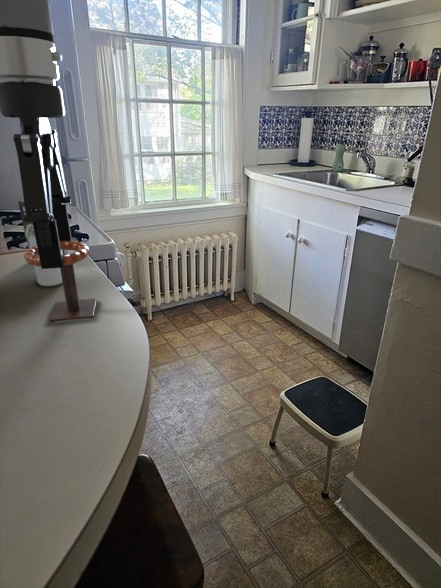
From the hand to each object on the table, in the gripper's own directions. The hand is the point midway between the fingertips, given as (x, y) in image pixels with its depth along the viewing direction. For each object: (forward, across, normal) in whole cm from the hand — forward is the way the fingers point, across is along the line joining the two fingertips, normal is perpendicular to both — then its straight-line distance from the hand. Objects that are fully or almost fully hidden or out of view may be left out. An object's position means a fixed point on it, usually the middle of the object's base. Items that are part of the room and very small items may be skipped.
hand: (58, 255), depth 58 cm
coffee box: (+18, +48, +12) cm, 53 cm away
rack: (+17, +15, +2) cm, 23 cm away
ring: (0, 0, 0) cm, 0 cm away
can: (+18, +33, +9) cm, 39 cm away
